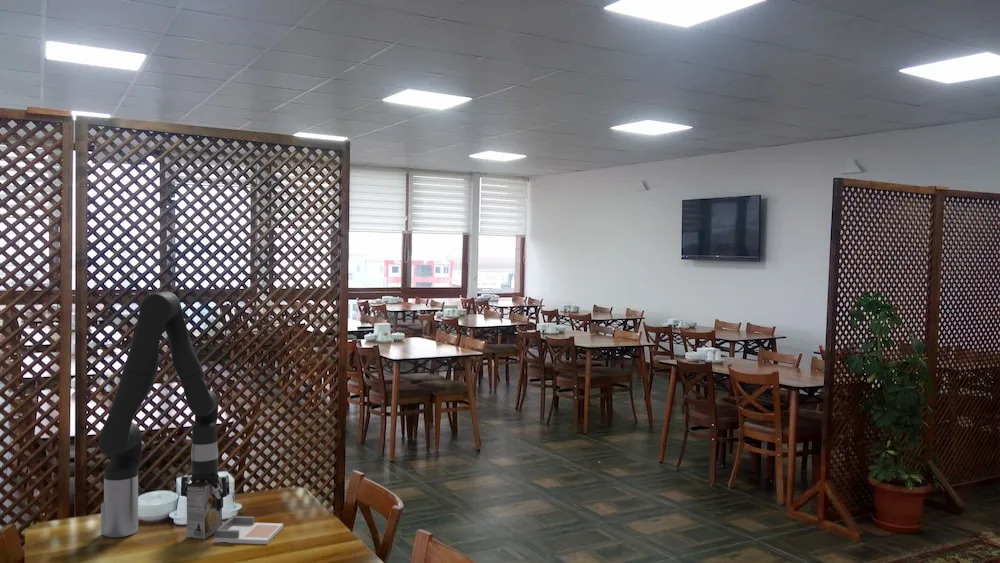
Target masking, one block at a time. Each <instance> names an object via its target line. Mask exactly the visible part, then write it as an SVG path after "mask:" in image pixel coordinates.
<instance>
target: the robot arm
mask: <svg viewBox="0 0 1000 563" xmlns="http://www.w3.org/2000/svg"><path fill="white" fill-rule="evenodd" d="M182 308H183V307H182V304H181V301H180V299H179V298H178V296H177V295H176V294H175V293H173V292H170V291H167V290H166V291H158V292H154V293H151V294H148V295H147V296H146V297H145V298H144V299H143V300H142V302H141V304H140V307H139V311H138V318H137V322H136V327H135V333H134V336H133V339H132V342H131V345H130V347H129V351H128V354H127V358H126V360H125V363H124V365H123V369H122V372H121V374H120V375H121V376H120V378H119V379H120V380H119V383H118V386H117V389H116V392H115V394H114V395H115V396H114V399H113V402H112V405H111V408H110V411H109V413H108V415H107V418H106V420H105V422H104V425H103V426H102V429H101V431H100V433H99V437H98V448H99V450H100V452H101V453H102V454H103V456H105V457H107V458H111V459H110V461H109V462H108V464H107V465H106V466H105V468H104V469H103V502H102V503H101V504H100V536H105V537H107V538H122V537H127V536H131V535H133V534H136V533H138V531H139V469H140V467H141V462H142V450H143V447H142V446H143V436H142V435H143V434H142V431H141V429H140V427H139V426H138V425H137V424H136V423H135V422H133V420H134V418H135V415H136V413H137V412H138V411H139V409H140V408H141V406H142V404H143V403H144V401H145V400H146V399H147V397H148V395H149V394H150V392H151V390H152V389H153V386H154V384H155V381H156V378H157V374H158V370H159V365H160V352H159V347H160V341H161V337H162V335H163V331H165V333H166V335H167V336H166V337H167V339H168V342H169V347H170V354H171V361H172V364H173V367H174V369H175V372H176V373H177V377H178V378H179V381H180V383H181V385H182V387H183V392H184V397H185V400H186V403H187V407H188V409H189V410H190V412H191V413H192V415H194V424H192V429H191V450H190V451H191V453H190V454H191V455H190V456H191V457H190V458H191V461H190V463H191V475H189V474H185V475H183V476H182V477H181V479H180V480H181V481H180V496H181V497H184V498H185V497H186V498H187V484H190V483H192V482H196V483H201V482H204V483H212V485H211V492H212V493H213V494H214V495H215V496H216V497H217V499H216V511H220V510H221V509H222V510H223V508H224V498H225V497H227V496H228V495H230V492H231V488H230V478H229V475H228V474H227V475H224V476H223V475H222V476H220V475H219V448H218V446H219V445H218V436H217V435H218V430H217V422H218V415H219V399H218V396H217V394H216V393H215V392H214V391H212V390H210V389H208V386H207V384H206V374H205V371H204V369H203V367H202V364H201V362H200V360H199V357H198V356H197V353H196V351H195V348H194V346H193V343H192V340H191V337H190V334H189V330H188V327H187V323H186V320H185V316H184V312H183V309H182ZM218 481H220V483H221V484H222V491H221V489H220V486H219V485H218V484H217V482H218ZM216 484H217V488H216V489H215V488H214V486H215V485H216Z"/></svg>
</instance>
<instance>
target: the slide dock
mask: <svg viewBox="0 0 1000 563" xmlns="http://www.w3.org/2000/svg"><path fill="white" fill-rule="evenodd" d="M255 521H256V518H255V516H246V515H245V516H243V515H242V516H241V515H240V516H239V515H232V516H231V517H230V518H229V519H227V520H226V521H225V522H223V523H222V525H221V526H220V527H219V528H217V529H216V530H215V533H214V537H213V543H220V542H228V543H229V544H250V545H252V544H253V545H254V544H255V545H268V544H269V543H270V542H271V541H272V540H273V539H274V538H275V537H276V535H277V534H278V533H279V532H281V530H283V528H284V523H280V522H279V523H278V522H274V523H273V522H255ZM273 537H274V538H273ZM228 543H227V544H228Z"/></svg>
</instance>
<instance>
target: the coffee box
mask: <svg viewBox="0 0 1000 563" xmlns="http://www.w3.org/2000/svg"><path fill="white" fill-rule="evenodd" d="M217 484H218V485H219V486H220V489H221V491H222V484H221V483H220V481H218V482H217ZM217 484H216V485H215V486H214V488H215V489H216V488H217ZM211 485H212V483H204V482H201V483H196V482H189V484H187V497H186V538H190V537H193V539H201V538H202V540H206V539H207V538H208V537H210V536H212V535H213V534H214V535H215V530H216V529H217V528H219V527H220V526H221V525H222V524H223V513H222V512H223V508H222V509H221V510H220V511H216V499H217V497H216V496H215V495H214V494H213V493H212V492H211ZM205 538H206V539H205Z"/></svg>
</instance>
